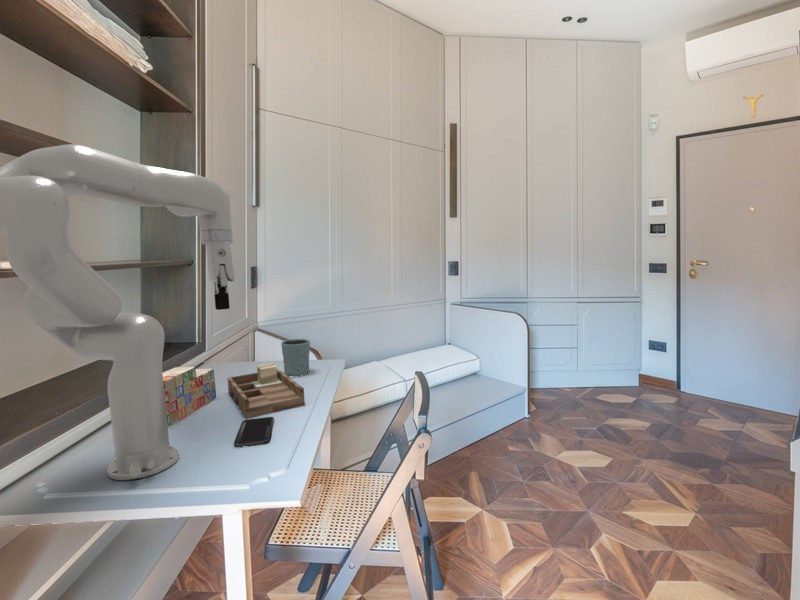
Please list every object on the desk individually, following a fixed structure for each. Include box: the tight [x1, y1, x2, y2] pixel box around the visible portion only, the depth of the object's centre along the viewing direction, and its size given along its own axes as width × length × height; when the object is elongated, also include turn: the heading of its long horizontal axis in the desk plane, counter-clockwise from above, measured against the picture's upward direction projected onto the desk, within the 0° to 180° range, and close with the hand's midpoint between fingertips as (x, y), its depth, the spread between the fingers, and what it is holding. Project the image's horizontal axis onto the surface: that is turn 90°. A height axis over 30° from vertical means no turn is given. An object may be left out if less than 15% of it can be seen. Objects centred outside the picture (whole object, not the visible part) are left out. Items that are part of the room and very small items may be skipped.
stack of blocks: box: [162, 366, 217, 426], centre depth 117 cm, size 21×6×12 cm, turn 174°
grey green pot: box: [280, 338, 311, 377], centre depth 151 cm, size 10×10×12 cm
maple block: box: [256, 363, 278, 385], centre depth 134 cm, size 5×5×5 cm
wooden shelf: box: [227, 368, 306, 419], centre depth 125 cm, size 26×16×5 cm, turn 32°
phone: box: [233, 416, 275, 448], centre depth 100 cm, size 8×1×15 cm
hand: (222, 308), depth 109 cm, fingers closed
